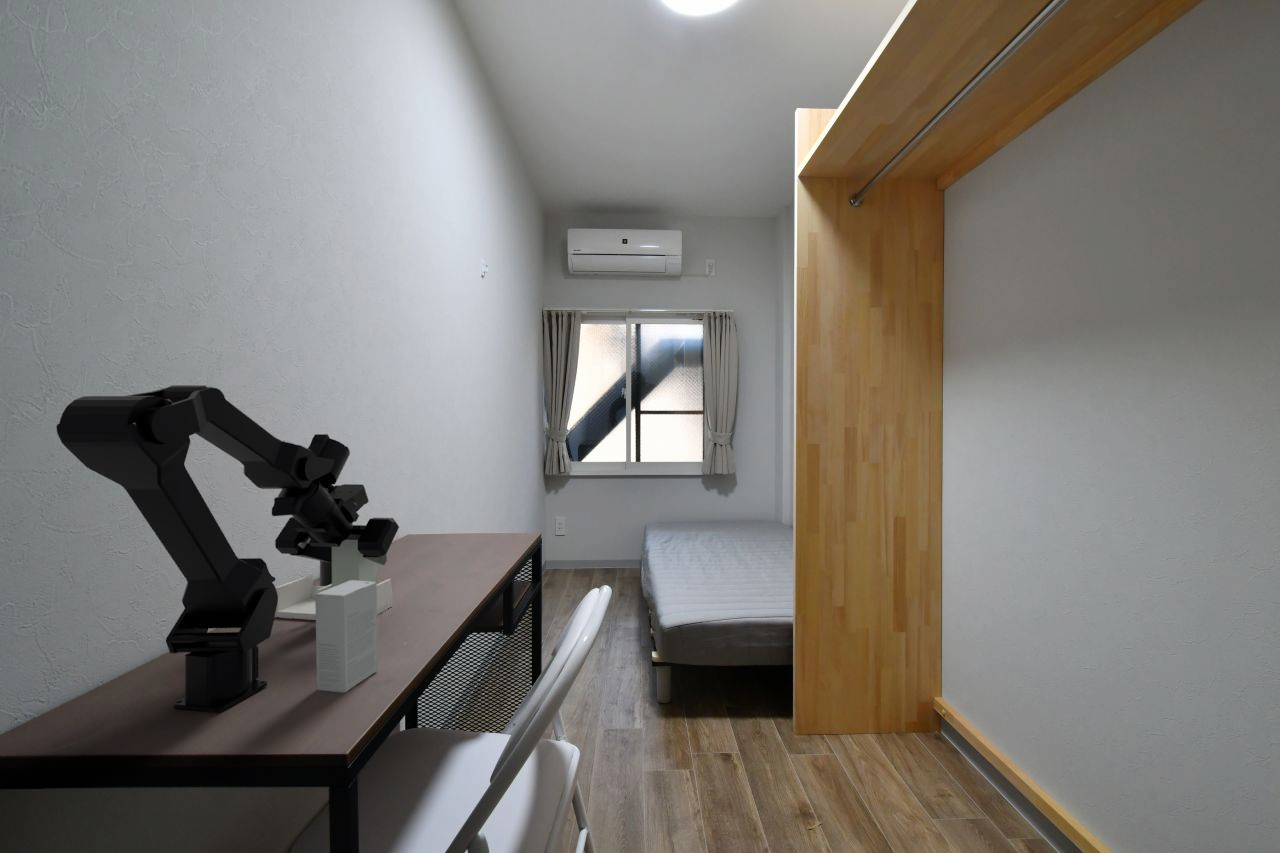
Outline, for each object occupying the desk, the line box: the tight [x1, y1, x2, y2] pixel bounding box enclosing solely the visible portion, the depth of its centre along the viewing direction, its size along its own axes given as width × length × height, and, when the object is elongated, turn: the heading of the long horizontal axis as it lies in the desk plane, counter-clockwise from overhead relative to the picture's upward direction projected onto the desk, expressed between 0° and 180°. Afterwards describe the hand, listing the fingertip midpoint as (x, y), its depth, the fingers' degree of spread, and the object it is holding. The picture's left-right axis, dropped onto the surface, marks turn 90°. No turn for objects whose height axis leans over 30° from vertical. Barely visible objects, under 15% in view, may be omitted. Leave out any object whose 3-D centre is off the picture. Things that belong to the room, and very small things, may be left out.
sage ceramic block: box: [332, 540, 379, 587], centre depth 91 cm, size 5×5×13 cm
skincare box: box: [315, 580, 379, 694], centre depth 67 cm, size 6×4×12 cm
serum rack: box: [274, 574, 393, 621], centre depth 92 cm, size 8×17×5 cm, turn 81°
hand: (360, 561), depth 92 cm, fingers open, 9 cm apart
